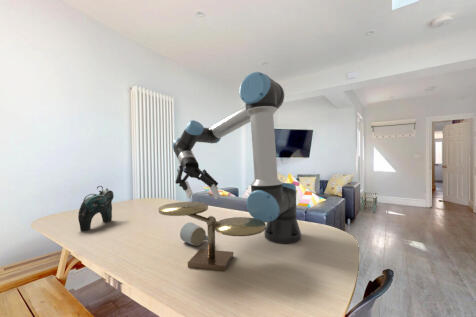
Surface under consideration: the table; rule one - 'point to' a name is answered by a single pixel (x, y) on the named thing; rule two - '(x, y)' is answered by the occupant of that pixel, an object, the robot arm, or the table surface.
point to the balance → (213, 233)
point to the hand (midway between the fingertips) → (204, 196)
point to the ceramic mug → (193, 234)
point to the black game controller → (95, 208)
